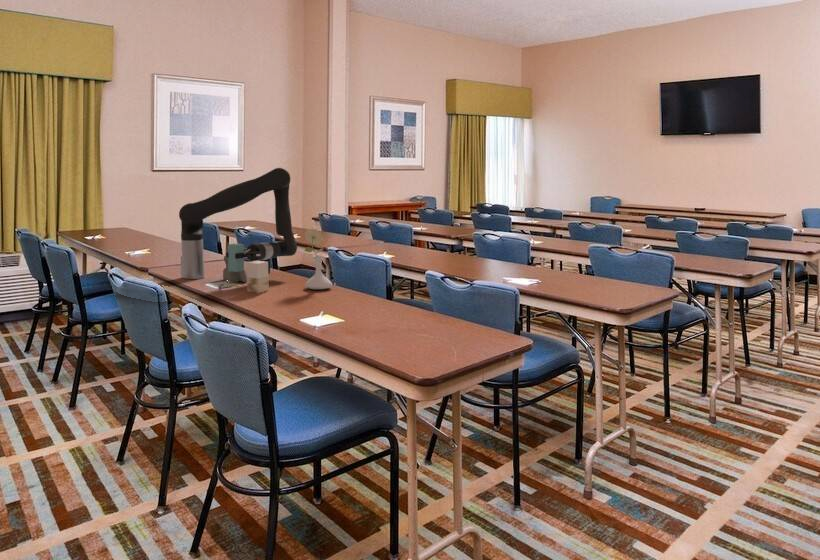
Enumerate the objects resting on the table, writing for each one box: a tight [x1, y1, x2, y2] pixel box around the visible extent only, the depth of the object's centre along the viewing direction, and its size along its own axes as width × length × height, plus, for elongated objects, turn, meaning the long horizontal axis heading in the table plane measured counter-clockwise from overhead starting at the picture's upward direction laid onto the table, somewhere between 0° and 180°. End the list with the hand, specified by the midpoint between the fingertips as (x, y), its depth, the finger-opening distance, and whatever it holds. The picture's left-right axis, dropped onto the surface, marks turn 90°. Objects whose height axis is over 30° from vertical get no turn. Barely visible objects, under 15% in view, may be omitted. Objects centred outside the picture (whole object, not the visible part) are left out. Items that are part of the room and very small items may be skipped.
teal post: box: [227, 242, 245, 272], centre depth 272 cm, size 4×4×11 cm
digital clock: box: [222, 255, 247, 283], centre depth 289 cm, size 16×9×11 cm, turn 25°
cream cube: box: [246, 261, 269, 278], centre depth 264 cm, size 6×6×6 cm
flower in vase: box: [303, 228, 333, 290], centre depth 271 cm, size 13×11×25 cm
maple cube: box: [246, 276, 270, 294], centre depth 265 cm, size 6×6×6 cm
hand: (231, 255), depth 269 cm, fingers closed on teal post, 4 cm apart
